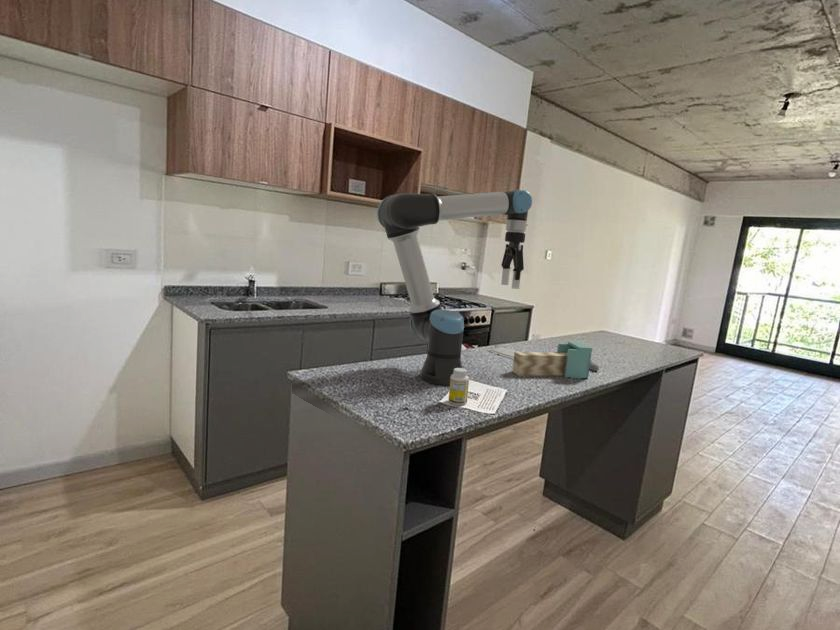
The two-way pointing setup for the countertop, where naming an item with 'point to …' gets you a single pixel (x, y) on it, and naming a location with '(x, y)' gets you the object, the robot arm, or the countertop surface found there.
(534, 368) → the beige zigzag patterned block
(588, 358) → the end cap
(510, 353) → the baseboard
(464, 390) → the supplement bottle
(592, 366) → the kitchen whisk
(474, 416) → the countertop surface
